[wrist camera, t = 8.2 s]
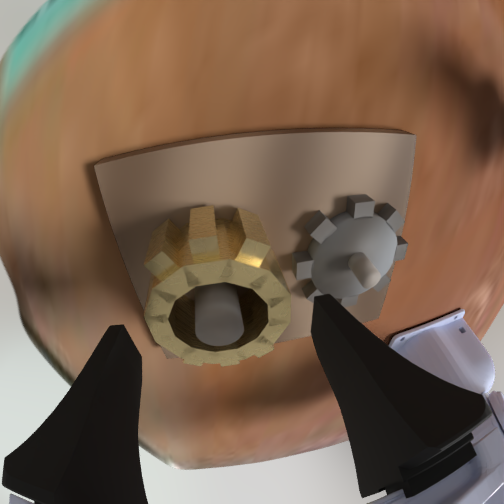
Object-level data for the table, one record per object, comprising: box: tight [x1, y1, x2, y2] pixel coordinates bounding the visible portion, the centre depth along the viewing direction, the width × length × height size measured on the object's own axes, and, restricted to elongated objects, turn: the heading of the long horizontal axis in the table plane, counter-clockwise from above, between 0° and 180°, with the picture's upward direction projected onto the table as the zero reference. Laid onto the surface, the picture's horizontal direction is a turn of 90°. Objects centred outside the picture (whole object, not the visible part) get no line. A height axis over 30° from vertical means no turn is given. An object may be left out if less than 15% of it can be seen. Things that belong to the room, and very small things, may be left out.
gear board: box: [94, 128, 416, 359], centre depth 12 cm, size 14×12×4 cm
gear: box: [144, 205, 291, 366], centre depth 12 cm, size 6×7×3 cm
